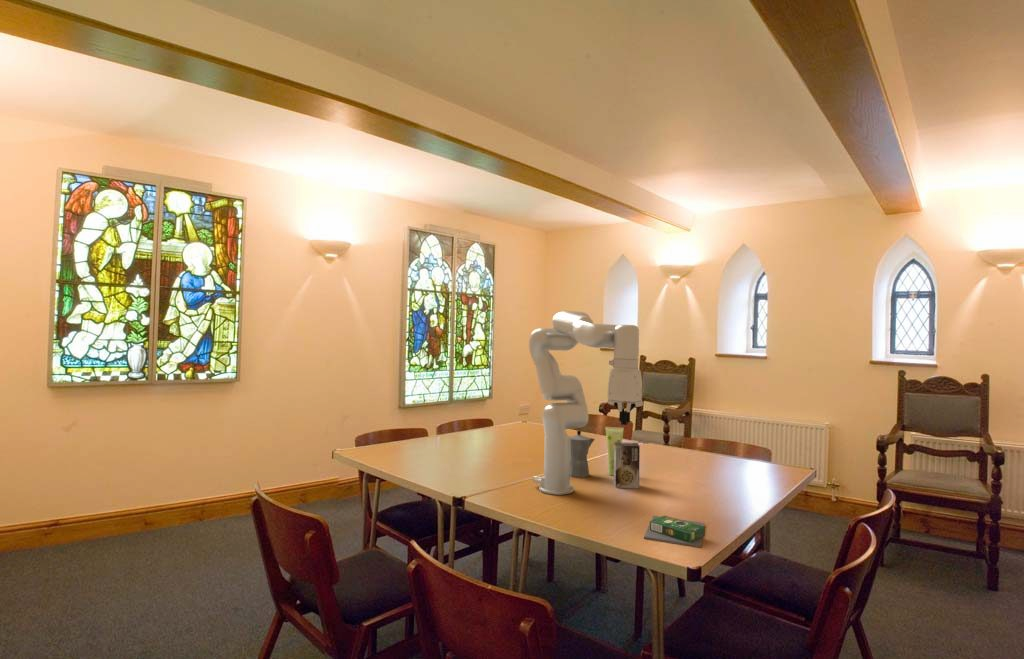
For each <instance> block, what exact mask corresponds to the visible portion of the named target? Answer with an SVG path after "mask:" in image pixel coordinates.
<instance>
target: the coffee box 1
mask: <svg viewBox="0 0 1024 659" xmlns="http://www.w3.org/2000/svg"><path fill="white" fill-rule="evenodd" d="M640 447H641V446H640V445H639V443H638V442H626V441H625V442H624V441H622V442H614V476H613V485H614V488H615V487H616V489H640V464H641V463H640V460H641V458H640V455H641V454H640V450H641V449H640Z"/></svg>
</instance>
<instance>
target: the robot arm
mask: <svg viewBox="0 0 1024 659" xmlns="http://www.w3.org/2000/svg"><path fill="white" fill-rule="evenodd" d="M551 321H552V322H551V323H552V324H551V325H552V327H539V328H536V329H534V330H533V331H532V332H531V333H530V336H529V340H528V349H529V353H530V356H531V358H532V362H533V363H534V365H535V370H536V374H537V379H538V384H539V388H540V393H541V395H542V398H543V399H545V400H546V401H556V402H553V403H549V404H548V405H546V406H545V407H544V409H543V410H542V414H541V415H542V425H543V431H544V432H543V433H544V453H543V454H544V456H543V475H542V476H537V475H533V477H532V482H533V483H536V484H538V483H539V484H540V485H539V486H538V487H539V488H538V489H539V491H540V492H541V493H545V494H548V495H555V496H557V495H559V496H561V495H569V494H572V493H574V492H575V488H574V486H573V485H571V482H570V481H571V476H570V452H571V442H570V438H569V435H568V433H567V431H566V430H569V429H571V430H572V429H580V428H581V429H582V428H583V427H585V426H586V425H587V424H588V422H589V411H588V406H587V401H586V397H585V392H584V389H583V386H582V383H581V381H580V379H579V378H578V377H577V376H575V375H572V374H562V373H561V371H560V367H559V366H560V365H559V363H558V361H557V359H556V358H555V357H554V355H553V354H552V353H551V352H550V351H570V350H572V349H574V348H575V347H576V346H577V345H578V344H580V345H584V346H587V347H589V348H596V349H600V348H601V349H602V348H604V349H613V359H611V360H609V361H608V365H609V366H612V367H613V368H610V370H609V376H608V383H607V384H608V385H607V402H606V403H607V405H610V406H614V407H615V408H616V409H617V410H618V412H619V415H618V416H619V418H618V419H619V423H620V425H621V426H623V425H624V426H627V425H628V424H629V423H630V422H631V411H632V410H634V409H635V408H638V407H642V406H643V405H644V402H643V380H642V379H643V378H642V372H641V369H639V354H640V353H639V349H640V347H639V346H640V343H639V342H640V329H639V327H638V325H634V324H607V323H594V322H593V319H592V318H591V316H590V315H589V314H588V313H586V312H583V311H573V310H571V311H570V310H562V311H559V312H557V313H556V314H554V316H553V317H552V319H551ZM557 401H566V402H557ZM624 403H626V409H625V408H624Z"/></svg>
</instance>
